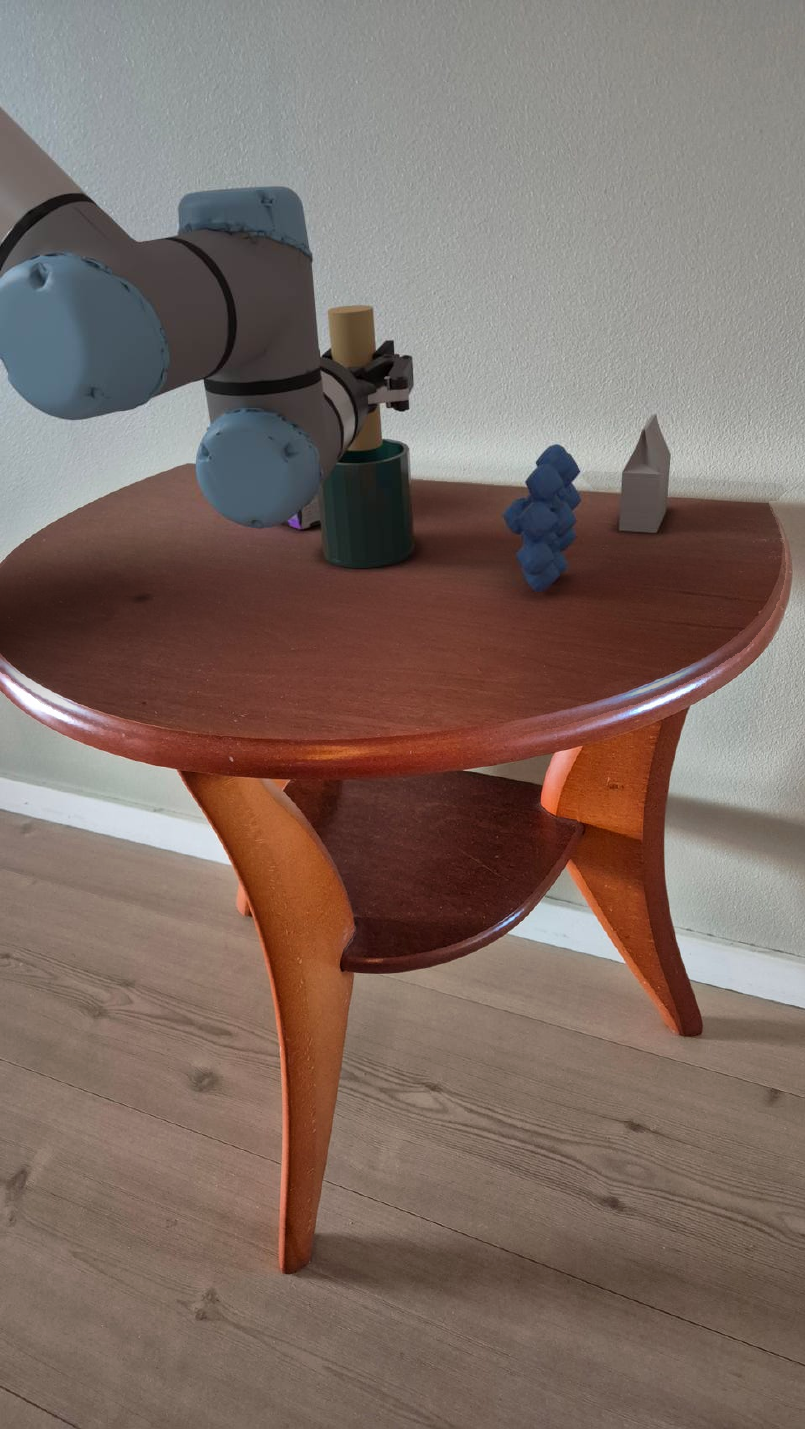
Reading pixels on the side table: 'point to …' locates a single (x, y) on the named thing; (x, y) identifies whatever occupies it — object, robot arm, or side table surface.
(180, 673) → the side table surface
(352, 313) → the tan cylinder
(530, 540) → the grapes
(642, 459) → the grey milk carton
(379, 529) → the dark green cup
